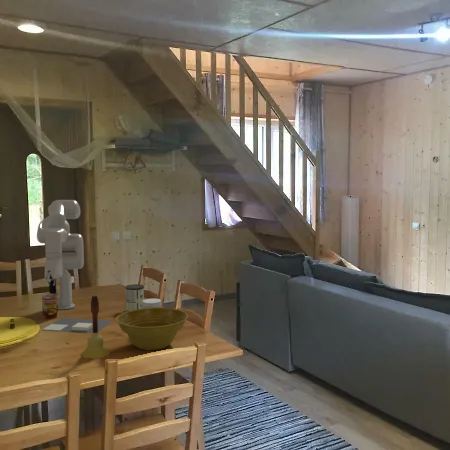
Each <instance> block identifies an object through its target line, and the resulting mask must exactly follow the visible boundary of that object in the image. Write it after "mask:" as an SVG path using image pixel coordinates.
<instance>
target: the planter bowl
mask: <svg viewBox="0 0 450 450" xmlns="http://www.w3.org/2000/svg"><path fill="white" fill-rule="evenodd" d="M188 318H189V315H188V313H187V312H185V311H183V310H181V309H176V308H171V307H162V308H143V309H136V310H131V311H127V312H126V311H125V312H121V313H120V314H118V315H117V316H116V317H115V322H116V323H117V324H118V326H119V327H120V330H121V331H122V332H123V333H125V334H127V336H128V338H129V340H130V341H131V343H132V344H133V346H135V347H137V348H138V349H141V350H145V351H156V350H161V349H164V348H166V347H167V348H168V346H169V345H171V344H172V343H173V341H174V339H175V337H176V335H177V333H178V332H179V331H180V330H181V329H182V328H183V327H184V325H185V324H186V323H185V322H186V320H188Z"/></svg>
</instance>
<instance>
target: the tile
mask: <svg viewBox="0 0 450 450" xmlns="http://www.w3.org/2000/svg"><path fill="white" fill-rule="evenodd" d="M92 328H93V323H77V324H75V325H74V326H72V331H87V332H88V331H89V330H90V329H92Z"/></svg>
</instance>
